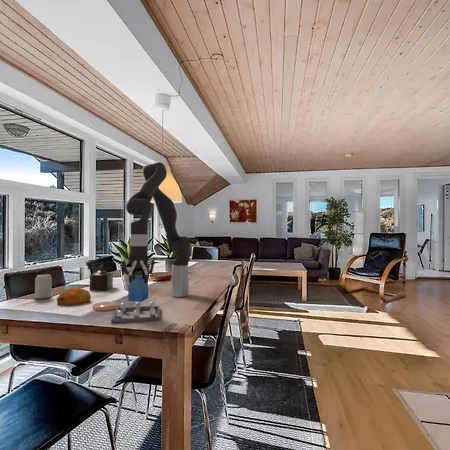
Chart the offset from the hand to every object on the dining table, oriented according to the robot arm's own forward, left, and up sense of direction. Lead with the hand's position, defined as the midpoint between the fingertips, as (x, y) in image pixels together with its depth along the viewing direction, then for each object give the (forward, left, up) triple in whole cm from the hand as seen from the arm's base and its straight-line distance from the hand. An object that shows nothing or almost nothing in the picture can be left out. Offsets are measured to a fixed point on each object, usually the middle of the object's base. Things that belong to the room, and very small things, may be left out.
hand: (138, 283), depth 131 cm
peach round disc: (+15, -16, -14) cm, 26 cm away
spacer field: (0, 0, -14) cm, 14 cm away
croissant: (+33, -29, -14) cm, 46 cm away
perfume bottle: (0, 0, -7) cm, 7 cm away
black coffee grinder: (+25, -57, -14) cm, 64 cm away
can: (+50, -41, -14) cm, 66 cm away
